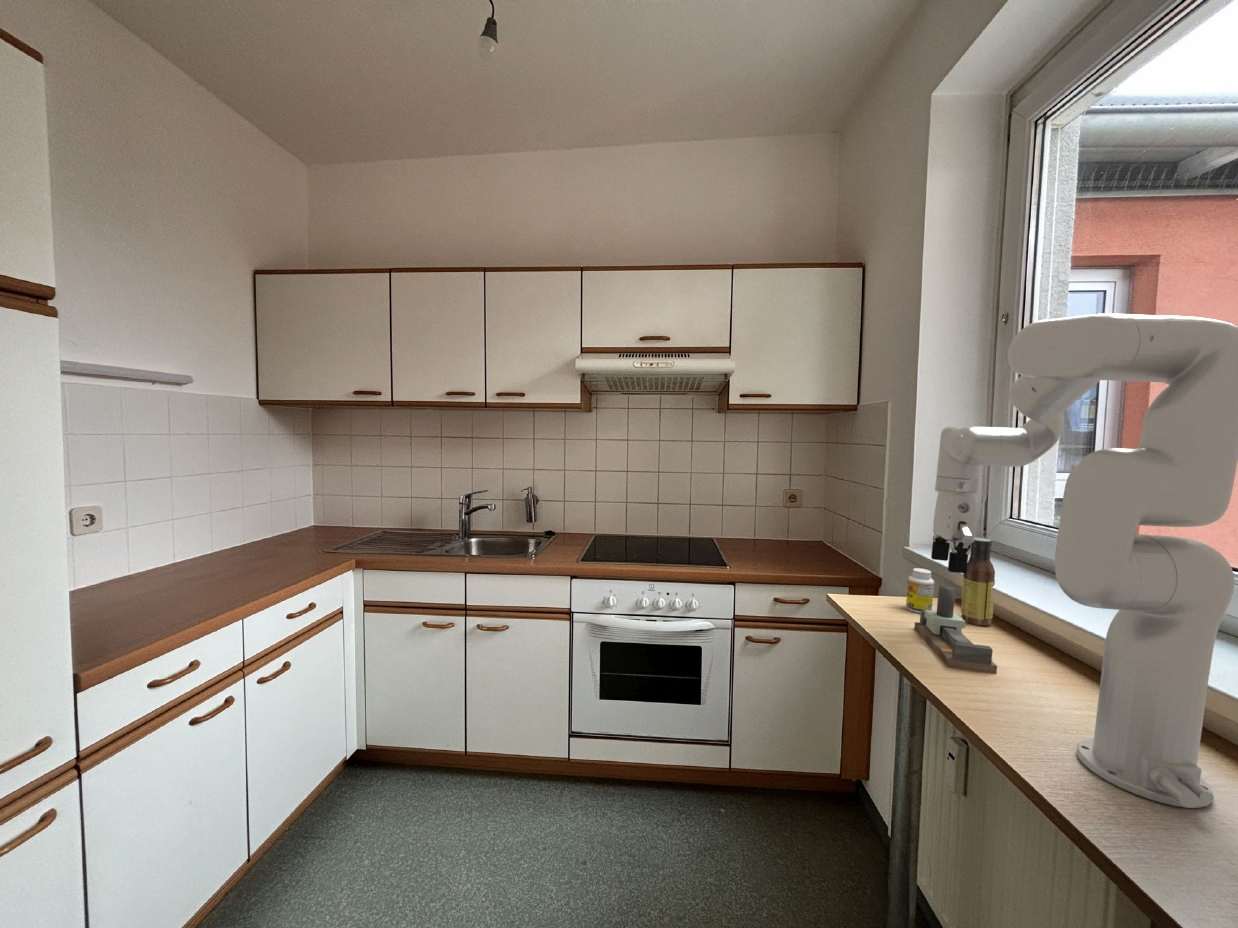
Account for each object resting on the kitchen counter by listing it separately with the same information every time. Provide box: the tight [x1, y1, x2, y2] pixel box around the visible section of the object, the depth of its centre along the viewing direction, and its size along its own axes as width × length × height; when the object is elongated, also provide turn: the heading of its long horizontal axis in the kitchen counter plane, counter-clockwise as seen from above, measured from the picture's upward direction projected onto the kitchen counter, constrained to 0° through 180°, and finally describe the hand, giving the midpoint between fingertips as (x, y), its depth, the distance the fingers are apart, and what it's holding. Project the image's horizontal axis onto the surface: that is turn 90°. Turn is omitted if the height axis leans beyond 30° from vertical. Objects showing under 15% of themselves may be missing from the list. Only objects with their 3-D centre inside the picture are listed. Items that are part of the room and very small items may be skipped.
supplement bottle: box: [905, 567, 935, 614], centre depth 131 cm, size 6×6×10 cm
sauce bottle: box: [960, 537, 996, 627], centre depth 125 cm, size 6×6×20 cm
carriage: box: [925, 585, 966, 635], centre depth 113 cm, size 5×6×10 cm
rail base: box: [914, 610, 998, 674], centre depth 108 cm, size 20×8×4 cm, turn 167°
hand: (947, 565), depth 113 cm, fingers open, 9 cm apart
